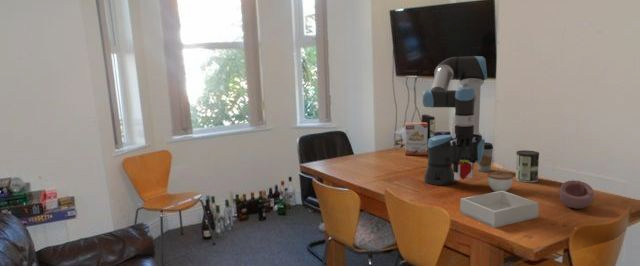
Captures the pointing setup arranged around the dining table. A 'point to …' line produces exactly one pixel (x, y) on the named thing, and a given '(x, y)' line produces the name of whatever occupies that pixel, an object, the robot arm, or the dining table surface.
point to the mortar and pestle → (576, 194)
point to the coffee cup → (486, 158)
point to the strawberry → (464, 168)
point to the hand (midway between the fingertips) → (463, 178)
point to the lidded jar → (500, 181)
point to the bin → (499, 208)
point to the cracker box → (416, 138)
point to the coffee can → (527, 166)
